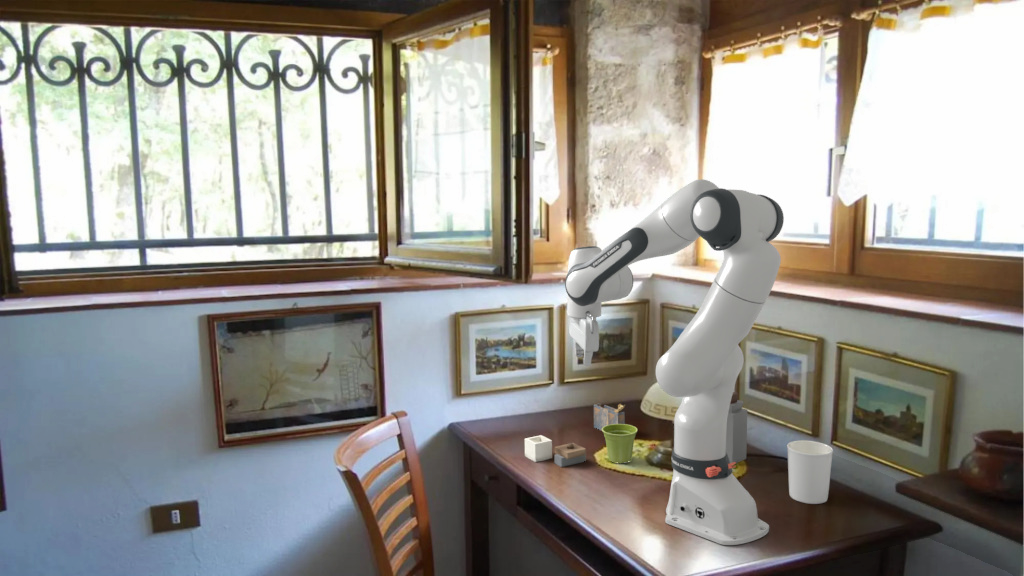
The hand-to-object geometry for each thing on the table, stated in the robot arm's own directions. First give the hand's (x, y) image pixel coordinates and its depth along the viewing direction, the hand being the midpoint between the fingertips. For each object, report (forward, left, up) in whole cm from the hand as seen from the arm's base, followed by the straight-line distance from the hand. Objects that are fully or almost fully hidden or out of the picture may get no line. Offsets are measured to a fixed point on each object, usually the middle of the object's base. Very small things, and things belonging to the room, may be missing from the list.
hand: (583, 361), depth 189 cm
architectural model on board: (+18, -23, -29) cm, 41 cm away
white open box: (+11, +7, -28) cm, 31 cm away
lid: (+3, +2, -26) cm, 26 cm away
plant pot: (-3, -10, -28) cm, 30 cm away
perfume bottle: (-18, -35, -28) cm, 48 cm away
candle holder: (-46, -31, -28) cm, 62 cm away
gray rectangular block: (+3, +2, -28) cm, 28 cm away
